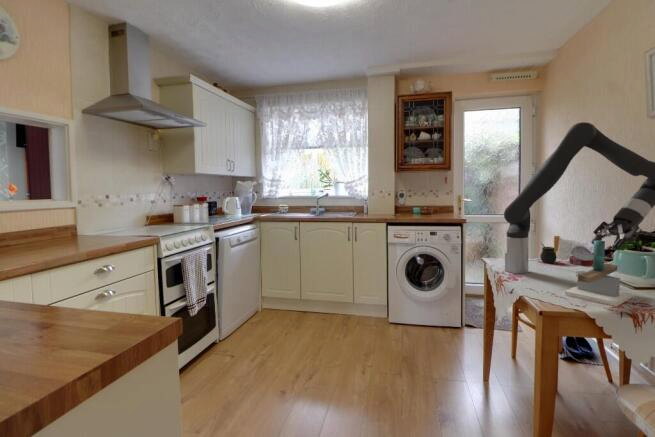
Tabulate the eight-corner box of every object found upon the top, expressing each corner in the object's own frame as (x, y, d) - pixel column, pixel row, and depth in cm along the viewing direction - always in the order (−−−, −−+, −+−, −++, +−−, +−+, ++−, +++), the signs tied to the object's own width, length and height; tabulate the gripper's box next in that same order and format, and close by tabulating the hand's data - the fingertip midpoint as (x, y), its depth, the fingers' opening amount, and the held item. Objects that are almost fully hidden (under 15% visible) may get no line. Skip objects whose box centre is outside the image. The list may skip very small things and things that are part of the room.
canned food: (589, 271, 174) (601, 255, 170) (585, 273, 167) (598, 257, 163) (566, 258, 181) (577, 243, 177) (561, 260, 174) (573, 244, 170)
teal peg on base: (578, 280, 122) (578, 245, 121) (605, 268, 135) (606, 236, 133) (590, 282, 119) (590, 246, 118) (617, 270, 132) (618, 237, 130)
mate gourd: (552, 264, 173) (552, 245, 172) (537, 262, 180) (536, 244, 179) (559, 262, 177) (559, 243, 176) (543, 260, 183) (543, 242, 182)
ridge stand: (564, 294, 131) (565, 274, 130) (581, 287, 138) (581, 268, 137) (616, 306, 117) (617, 283, 116) (632, 297, 124) (632, 276, 124)
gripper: (608, 205, 132) (581, 237, 132) (646, 208, 118) (615, 243, 118) (620, 218, 133) (593, 249, 133) (659, 222, 119) (628, 256, 119)
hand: (603, 246), depth 126 cm, fingers open, 8 cm apart
